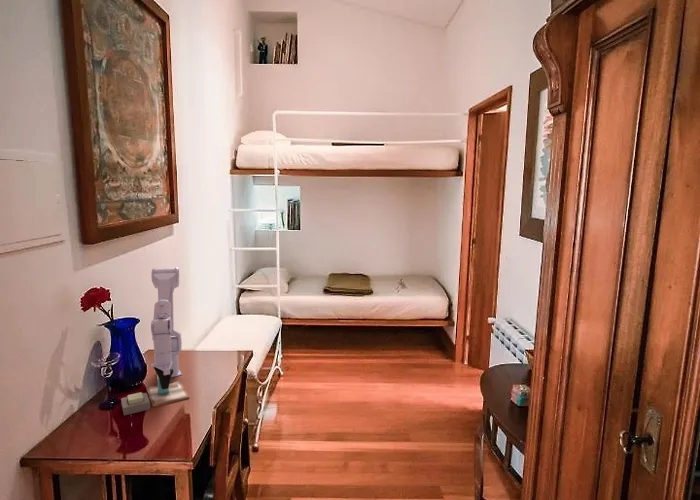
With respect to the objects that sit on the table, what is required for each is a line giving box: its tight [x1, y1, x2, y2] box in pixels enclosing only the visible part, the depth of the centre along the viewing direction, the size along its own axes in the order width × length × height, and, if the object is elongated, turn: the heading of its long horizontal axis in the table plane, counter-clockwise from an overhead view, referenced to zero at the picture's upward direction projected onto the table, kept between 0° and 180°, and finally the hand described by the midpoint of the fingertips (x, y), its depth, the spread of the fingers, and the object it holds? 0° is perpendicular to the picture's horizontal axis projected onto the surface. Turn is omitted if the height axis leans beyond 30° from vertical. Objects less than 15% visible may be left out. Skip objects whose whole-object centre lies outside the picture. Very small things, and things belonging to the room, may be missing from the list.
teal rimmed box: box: [156, 374, 169, 395], centre depth 154 cm, size 3×3×7 cm
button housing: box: [120, 392, 151, 416], centre depth 145 cm, size 8×8×3 cm
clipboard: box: [145, 380, 190, 408], centre depth 155 cm, size 16×12×1 cm
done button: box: [126, 391, 143, 405], centre depth 145 cm, size 4×4×3 cm
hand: (164, 386), depth 154 cm, fingers closed on teal rimmed box, 3 cm apart
